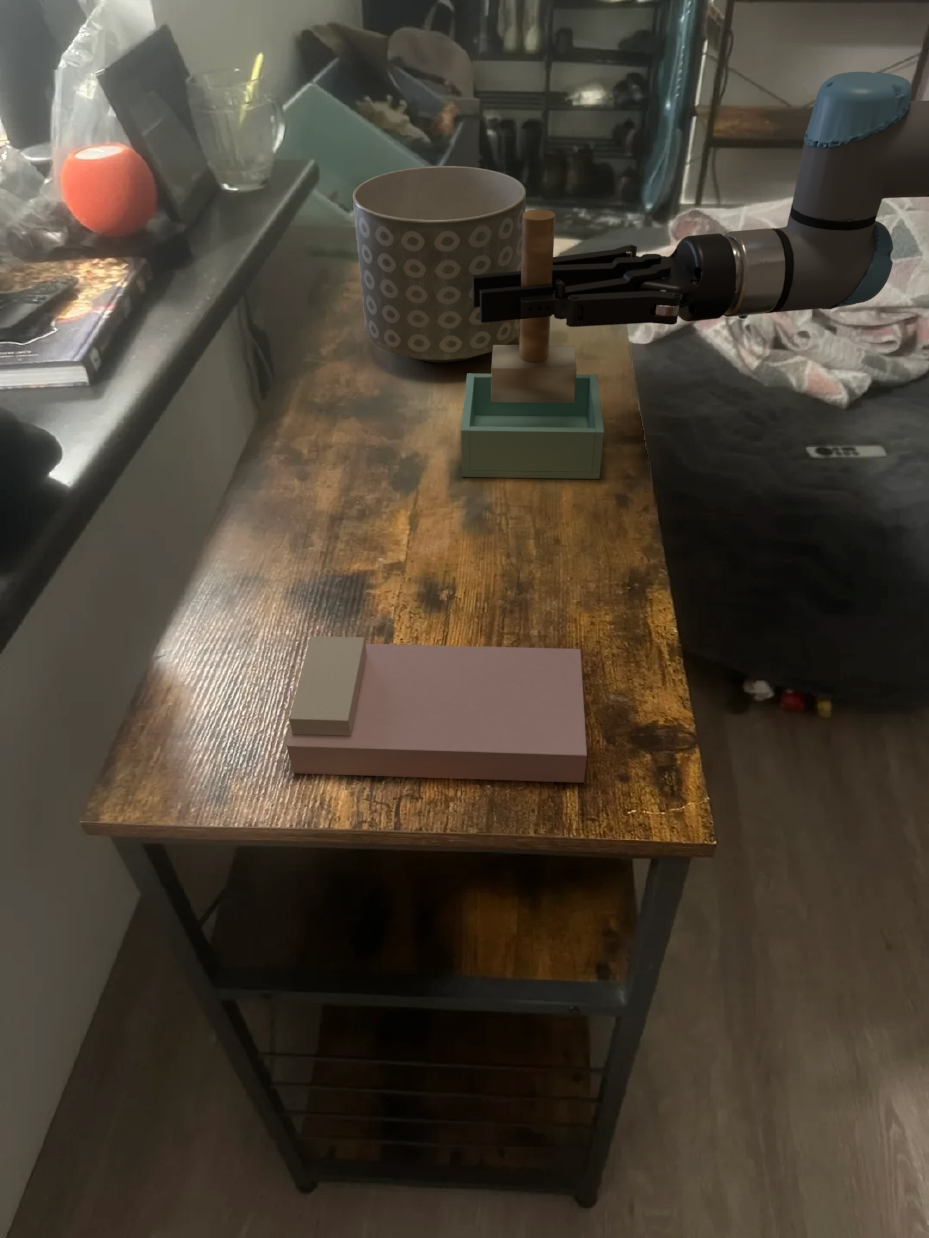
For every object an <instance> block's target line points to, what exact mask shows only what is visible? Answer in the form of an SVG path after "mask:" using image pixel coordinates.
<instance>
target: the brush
mask: <svg viewBox="0 0 929 1238" xmlns="http://www.w3.org/2000/svg"><path fill="white" fill-rule="evenodd" d="M555 226H556V213H555V212H554V211H552V210H549V209H542V208H537V209H536V208H535V209H529V210H525V212H524V213H523V222H522V263H521V286H528V285H540V284H550V283H551V284H552V271H553V257H554V251H555V250H554V248H555ZM550 330H551V316H548V317H538V318H527V319H520V332H519V344H507V345H493V351H491V353H492V355H491V368H490V371H491V372H490V374H491V402H525V403H574V398H575V384H576V374H577V370H578V369H577V359H576V347H575V346H576V345H574V344H573V345H571V344H570V345H568V344H567V345H565V344H563V345H561V344H559V345H557V344H555V345H553V344H551V345H550V334H551V333H550V332H551V331H550Z"/></svg>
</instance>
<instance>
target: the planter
mask: <svg viewBox="0 0 929 1238" xmlns="http://www.w3.org/2000/svg"><path fill="white" fill-rule="evenodd" d="M526 192H527V190H526V188H525V186H524V185H523V184H522V182H521V181H520V180H518V179H516V178H515V177H513V176H511V175H509V174H506V173H503V172H500V171H496V170H493V169H492V170H491V169H486V168H480V167H474V166H473V167H472V166H463V165H462V166H458V165H432V166H418V167H410V168H404V169H403V168H402V169H398V170H393V171H390V172H386V173H385V172H384V173H382V174H379V175H376V176H373V177H370V178H369V179H367V180H365V181H363V182H362V183H360V184H359V185H358V186H357V187H356V188H355V189H354V191H353V193H352V205H353V216H354V223H355V224H354V226H355V227H354V228H355V234H356V235H355V236H356V237H355V238H356V247H357V257H358V258H357V259H358V267H359V268H358V269H359V278H360V287H361V288H360V289H361V299H362V308H363V318H364V330H365V333H366V335H367V337H368V339H369V340H370V341H371V342H372V343H373V344H374V345H376V346H378V347H379V348H381V349H383V350H385V351H387V352H389V353H393V354H395V355H397V356H398V355H399V356H403V357H407V358H413V359H415V360H418V361H424V362H428V363H440V364H441V363H442V364H443V363H445V364H446V363H454V362H455V363H456V362H460V361H461V362H462V361H465V360H469V359H472V358H475V357H477V356H481V355H485V354H488V353H492V352H493V345H509V344H510V343H511V342H512V341H514V340H515V339H516V338H517V337H518V335H520V319H517V320H507V321H496V322H486V323H481V321H480V307H474V306H473V286H472V275H480V274H491V273H503V272H514V271H521V263H522V222H523V213H524V212H526V202H527V201H526V198H527V196H526V195H527V193H526Z"/></svg>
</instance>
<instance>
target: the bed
mask: <svg viewBox="0 0 929 1238" xmlns="http://www.w3.org/2000/svg"><path fill="white" fill-rule="evenodd" d="M583 681H584V680H583V665H582V650H581V648H554V647H551V648H550V647H516V646H515V647H511V646H477V645H475V646H474V645H472V646H471V645H439V644H437V645H436V644H432V645H431V644H398V643H397V644H394V643H393V644H392V643H366V638H365V637H362V636H361V637H359V636H323V635H322V636H320V635H319V636H317V635H311V636H310V637H309V642H308V645H307V650H306V653H305V656H304V659H303V664H302V668H301V671H300V676H299V679H298V682H297V687H296V689H295V690H296V691H295V694H294V698H293V702H292V705H291V709H290V713H289V717H288V721H289V725H290V731H289V735H288V739H287V741H286V742H287V743H286V749H287V753H288V756H289V761H290V766H291V769H292V773H293V774H304V775H305V774H307V775H337V776H363V777H364V776H365V777H367V776H368V777H394V778H395V777H397V778H423V779H424V778H427V779H455V780H457V779H459V780H485V781H486V780H489V781H490V780H491V781H514V782H515V781H517V782H518V781H519V782H520V781H521V782H548V783H549V782H550V783H551V782H552V783H579V784H583V783H584V782H585V775H586V767H587V760H588V759H587V758H588V749H587V747H588V746H587V745H588V744H587V731H586V716H585V715H586V714H585V713H586V712H585V698H584V682H583Z"/></svg>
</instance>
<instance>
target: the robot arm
mask: <svg viewBox="0 0 929 1238" xmlns="http://www.w3.org/2000/svg"><path fill="white" fill-rule="evenodd" d="M912 89H913V87H912V83H911V82H910V81H909V80H908V79H907V78H905V77H904V76H900V75H897V74H894V73H889V72H887V73H886V72H871V71H848V72H842V73H838V74H837V73H836V74H834V75H832V76H831V77H828V78H827V79H826V80H825V81H824V82H822V84H821V86H820V87H819V89H818V92H817V95H816V98H815V102H814V103H813V106H812V111H811V113H810V118H809V121H808V125H807V129H806V130H805V133H804V137H803V146H802V151H801V157H800V162H799V163H800V164H799V168H798V173H797V177H796V182H795V187H794V192H793V198H792V203H791V206H790V211H789V215H788V218H787V224H786V226H783V227H777V228H775V227H772V228H767V227H766V228H756V229H755V228H754V229H744V230H731V231H728V232H726V233H724V234H722V233H720V232H719V233H718V232H716V233H705V234H695V235H686V236H685V237H683V238H682V239H681V240H680V241H679V242H678V243H677V245H676V247H675V249H674V251H673V252H672V253H670V255H669V256H666V255H661V254H659V253H644V254H642V255H640V256H639V255H637V253H638V252H637V251H638V246H637V245H634V244H628V245H627V244H626V245H623V246H620V247H618V248H617V247H616V248H614V249H607V250H598V251H589V252H585V253H584V252H583V253H575V254H566V255H559V256H553V271H552V284H551V283H550V284H540V285H528V286H521V271H514V272H503V273H491V274H480V275H472V286H473V306H474V307H480V321H481V323H486V322H496V321H507V320H517V319H527V318H538V317H548V316H550V317H553V318H555V319H557V320H566V321H565V324H566V326H567V327H569V328H579V327H580V328H581V327H599V326H600V327H601V326H616V325H617V326H618V325H634V324H635V325H636V324H637V325H638V324H659V325H668V326H673V325H676V324H677V323H678V319H679V318H680V319H681V320H682V321H685V322H698V321H707V320H708V321H709V320H719V319H721V318H722V317H726V318H732V317H738V319H739V320H745V319H748V316H755V315H763V314H764V315H765V314H774V313H785V312H795V311H808V310H834V309H837V308H842V307H849V306H852V305H856V304H861V303H862V304H863V303H866V302H868V301H870V300H872V299H874V298H875V297H876V296H877V295H879V293H880V292H881V291H882V290H883V288H884V287H885V286H886V284H887V282H888V280H889V278H890V276H891V272H892V269H893V262H894V261H893V260H892V257H891V256H892V255H891V254H892V252H893V250H894V243H893V242H894V241H893V239H892V236H891V233H890V231H889V229H888V228H887V227H886V225H884V224H883V223H882V222H880V221H877V217H878V213H879V210H880V207H881V205H882V202H883V200H885V199H899V198H900V199H902V198H903V199H904V198H905V199H906V198H929V100H911V98H912V91H913V90H912Z"/></svg>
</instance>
